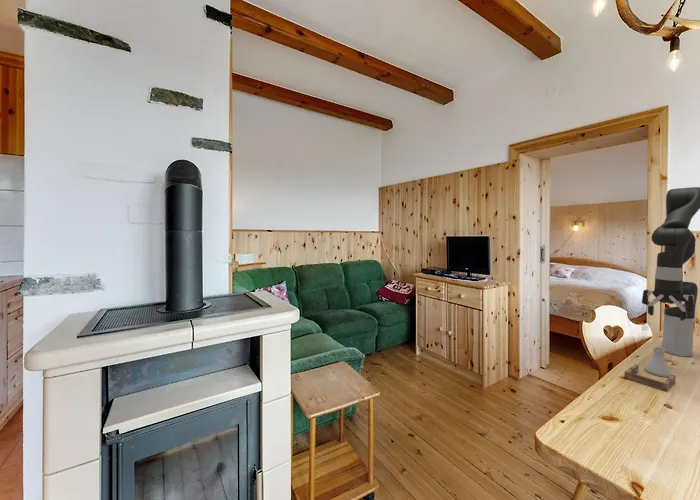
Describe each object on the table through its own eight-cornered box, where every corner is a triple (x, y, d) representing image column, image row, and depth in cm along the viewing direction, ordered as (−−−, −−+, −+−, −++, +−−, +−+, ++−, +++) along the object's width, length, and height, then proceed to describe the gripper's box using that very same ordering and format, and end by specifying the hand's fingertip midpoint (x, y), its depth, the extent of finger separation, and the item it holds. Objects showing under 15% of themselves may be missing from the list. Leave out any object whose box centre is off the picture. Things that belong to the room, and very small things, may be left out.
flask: (658, 369, 117) (660, 345, 117) (677, 378, 110) (678, 352, 109) (639, 368, 118) (640, 344, 117) (656, 377, 111) (657, 351, 110)
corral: (634, 370, 116) (635, 364, 116) (675, 382, 107) (675, 375, 107) (624, 378, 110) (624, 371, 110) (666, 391, 101) (666, 384, 101)
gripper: (698, 279, 112) (695, 320, 113) (646, 274, 124) (644, 312, 125) (693, 281, 108) (690, 324, 109) (641, 276, 120) (639, 315, 121)
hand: (666, 317), depth 117 cm, fingers open, 8 cm apart
